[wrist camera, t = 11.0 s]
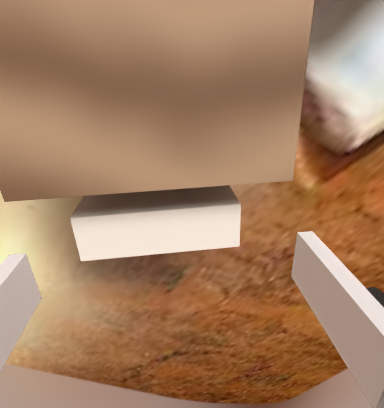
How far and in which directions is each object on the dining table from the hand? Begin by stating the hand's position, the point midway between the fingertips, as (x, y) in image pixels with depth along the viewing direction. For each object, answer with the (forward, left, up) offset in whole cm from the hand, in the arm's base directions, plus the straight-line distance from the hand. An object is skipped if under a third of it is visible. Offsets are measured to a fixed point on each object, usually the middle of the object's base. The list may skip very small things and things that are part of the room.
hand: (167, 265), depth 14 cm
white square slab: (0, 0, -15) cm, 15 cm away
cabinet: (-5, 0, -15) cm, 16 cm away
